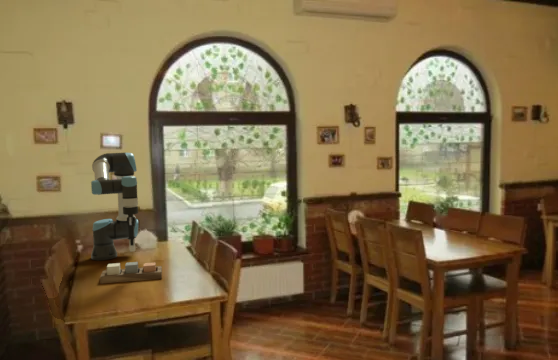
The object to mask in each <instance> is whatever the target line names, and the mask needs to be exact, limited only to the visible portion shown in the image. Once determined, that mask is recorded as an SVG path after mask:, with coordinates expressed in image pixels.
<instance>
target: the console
mask: <svg viewBox="0 0 558 360" xmlns="http://www.w3.org/2000/svg"><path fill="white" fill-rule="evenodd" d="M120 269H121V272H120V274H116V275H107V269H105V270H102V272H101V274H100V276H99V279H100V281H99V282H100V284H101V285H102V284H111V283H112V284H113V283H123V282H139V281H148V280H159V279H161V280H162V278H163V277H162V276H163V269H162V265H156V271H154V272H144V268H143V267H138V273H129V274H126V272H125V268H120Z"/></svg>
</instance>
